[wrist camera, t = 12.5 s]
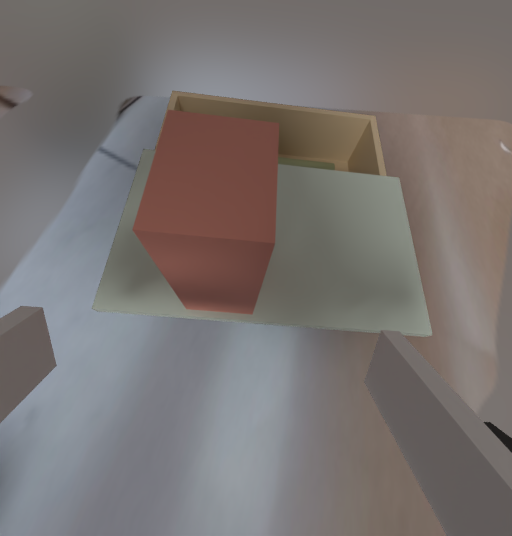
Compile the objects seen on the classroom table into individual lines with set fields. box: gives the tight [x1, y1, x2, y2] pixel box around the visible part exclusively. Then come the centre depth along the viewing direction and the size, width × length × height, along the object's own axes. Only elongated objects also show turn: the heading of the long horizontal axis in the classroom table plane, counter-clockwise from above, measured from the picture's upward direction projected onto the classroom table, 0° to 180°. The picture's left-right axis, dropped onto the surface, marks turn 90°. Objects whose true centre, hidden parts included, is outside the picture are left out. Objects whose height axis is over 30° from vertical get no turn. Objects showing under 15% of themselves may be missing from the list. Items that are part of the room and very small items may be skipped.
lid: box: [92, 110, 432, 337], centre depth 14 cm, size 21×13×10 cm, turn 86°
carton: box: [155, 91, 387, 176], centre depth 25 cm, size 20×12×6 cm, turn 86°
